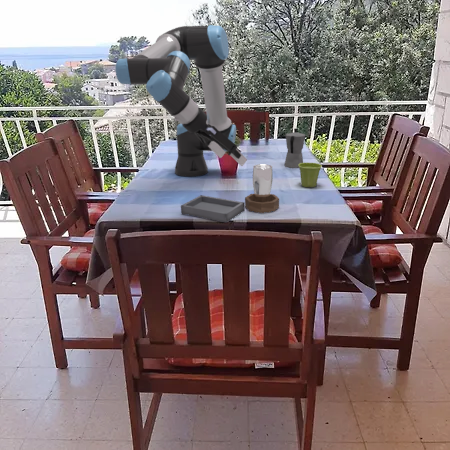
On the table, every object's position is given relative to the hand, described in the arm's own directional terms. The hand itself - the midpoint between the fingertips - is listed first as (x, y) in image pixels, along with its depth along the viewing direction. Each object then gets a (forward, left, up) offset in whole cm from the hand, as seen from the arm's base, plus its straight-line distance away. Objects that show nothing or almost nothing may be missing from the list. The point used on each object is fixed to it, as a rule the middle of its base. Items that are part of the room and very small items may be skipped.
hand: (233, 158), depth 142 cm
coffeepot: (-5, +70, -20) cm, 73 cm away
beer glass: (+6, +11, -20) cm, 23 cm away
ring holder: (+6, +11, -19) cm, 23 cm away
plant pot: (+12, +44, -20) cm, 49 cm away
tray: (-7, -2, -19) cm, 21 cm away
